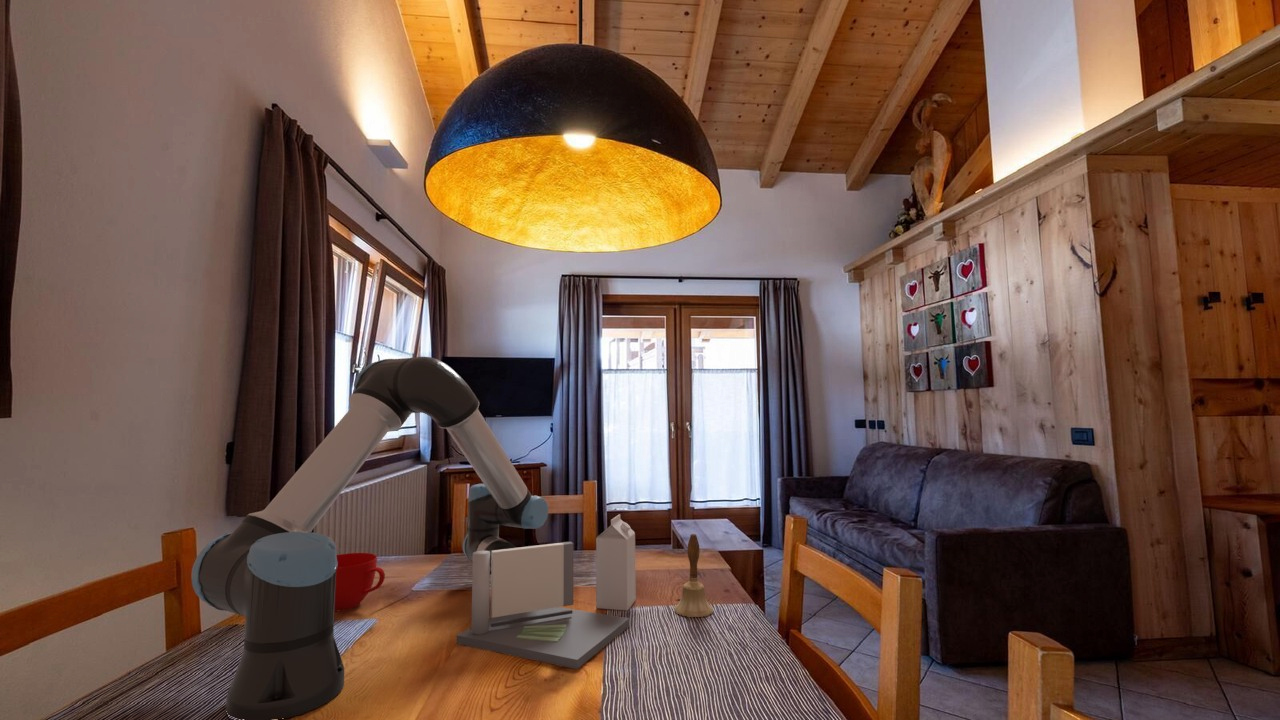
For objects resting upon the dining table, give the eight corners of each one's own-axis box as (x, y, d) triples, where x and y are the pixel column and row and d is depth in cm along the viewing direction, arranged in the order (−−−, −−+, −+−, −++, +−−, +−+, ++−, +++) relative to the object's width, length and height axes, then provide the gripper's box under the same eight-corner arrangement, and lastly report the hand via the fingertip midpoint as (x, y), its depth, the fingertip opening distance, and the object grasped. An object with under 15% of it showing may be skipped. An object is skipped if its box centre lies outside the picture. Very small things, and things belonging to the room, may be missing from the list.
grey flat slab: (577, 669, 92) (577, 658, 92) (456, 643, 102) (456, 634, 102) (629, 626, 110) (629, 617, 110) (522, 608, 120) (522, 600, 121)
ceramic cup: (359, 621, 114) (361, 571, 115) (295, 613, 119) (297, 565, 120) (402, 600, 126) (404, 555, 127) (342, 594, 131) (344, 551, 132)
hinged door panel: (472, 635, 102) (474, 555, 103) (470, 629, 105) (471, 551, 106) (574, 618, 110) (574, 544, 111) (569, 613, 113) (569, 540, 114)
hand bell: (712, 604, 121) (711, 530, 123) (713, 618, 113) (712, 539, 115) (674, 603, 122) (673, 530, 124) (673, 617, 114) (672, 538, 116)
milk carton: (596, 609, 119) (595, 519, 121) (605, 598, 126) (605, 513, 128) (627, 611, 118) (626, 520, 120) (635, 600, 125) (635, 514, 126)
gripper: (523, 567, 133) (570, 593, 114) (470, 577, 126) (511, 606, 107) (523, 535, 134) (570, 555, 115) (470, 544, 126) (511, 566, 107)
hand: (542, 580), depth 111 cm, fingers closed
